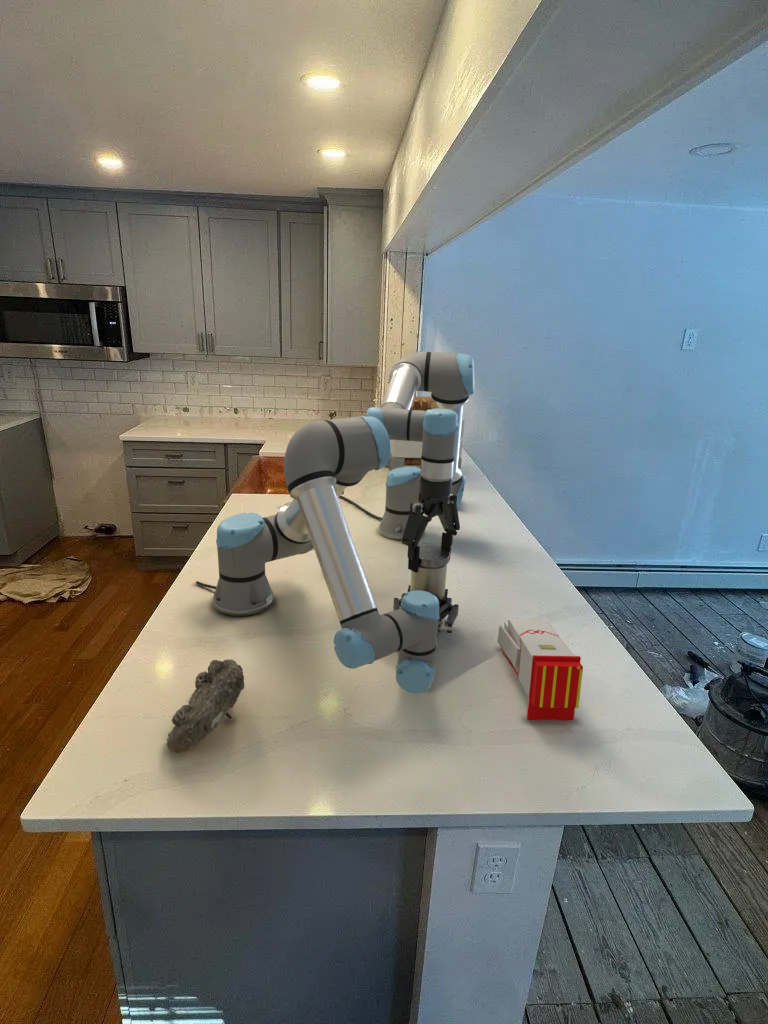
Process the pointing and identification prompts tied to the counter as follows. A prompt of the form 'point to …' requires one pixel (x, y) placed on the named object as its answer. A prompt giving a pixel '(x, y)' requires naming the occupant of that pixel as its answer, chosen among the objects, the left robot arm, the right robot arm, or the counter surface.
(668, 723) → the counter surface
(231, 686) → the fossil
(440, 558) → the lid
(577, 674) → the toy
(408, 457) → the white wooden box
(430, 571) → the jar
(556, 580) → the counter surface
